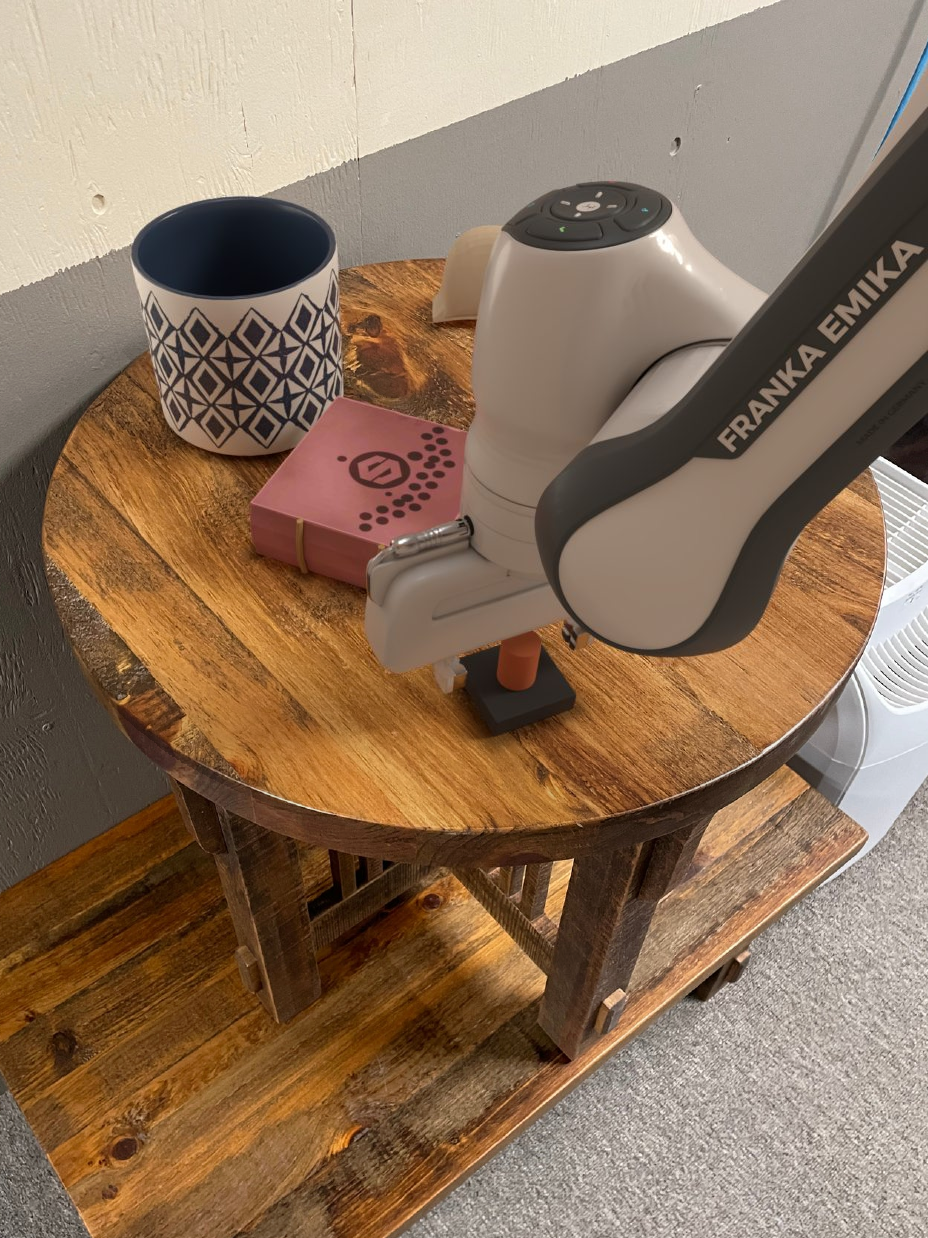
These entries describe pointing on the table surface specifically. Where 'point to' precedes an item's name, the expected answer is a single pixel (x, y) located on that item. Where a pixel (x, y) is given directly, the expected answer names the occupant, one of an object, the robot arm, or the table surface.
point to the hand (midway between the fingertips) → (514, 661)
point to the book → (358, 489)
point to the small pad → (512, 703)
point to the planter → (241, 321)
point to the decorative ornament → (464, 275)
